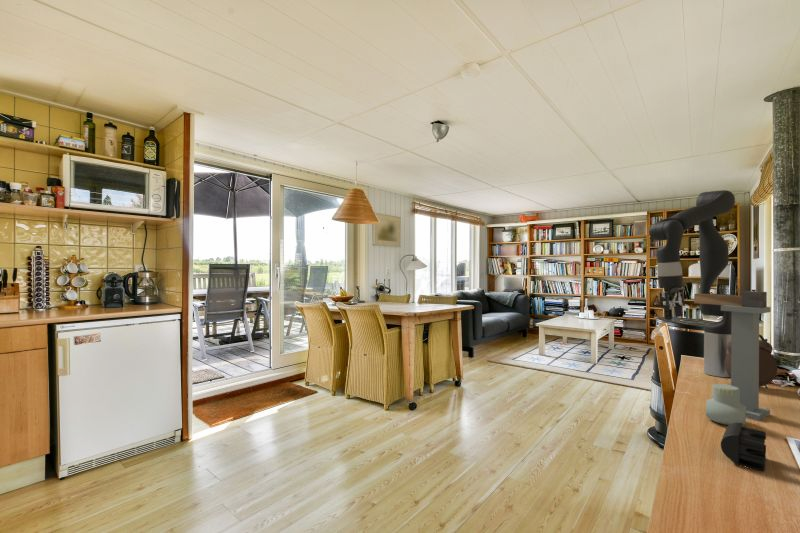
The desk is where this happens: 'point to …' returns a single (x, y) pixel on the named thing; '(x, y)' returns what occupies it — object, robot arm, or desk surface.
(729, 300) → the mallet
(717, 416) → the air freshener
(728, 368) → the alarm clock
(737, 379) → the stand
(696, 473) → the desk surface
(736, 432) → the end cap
